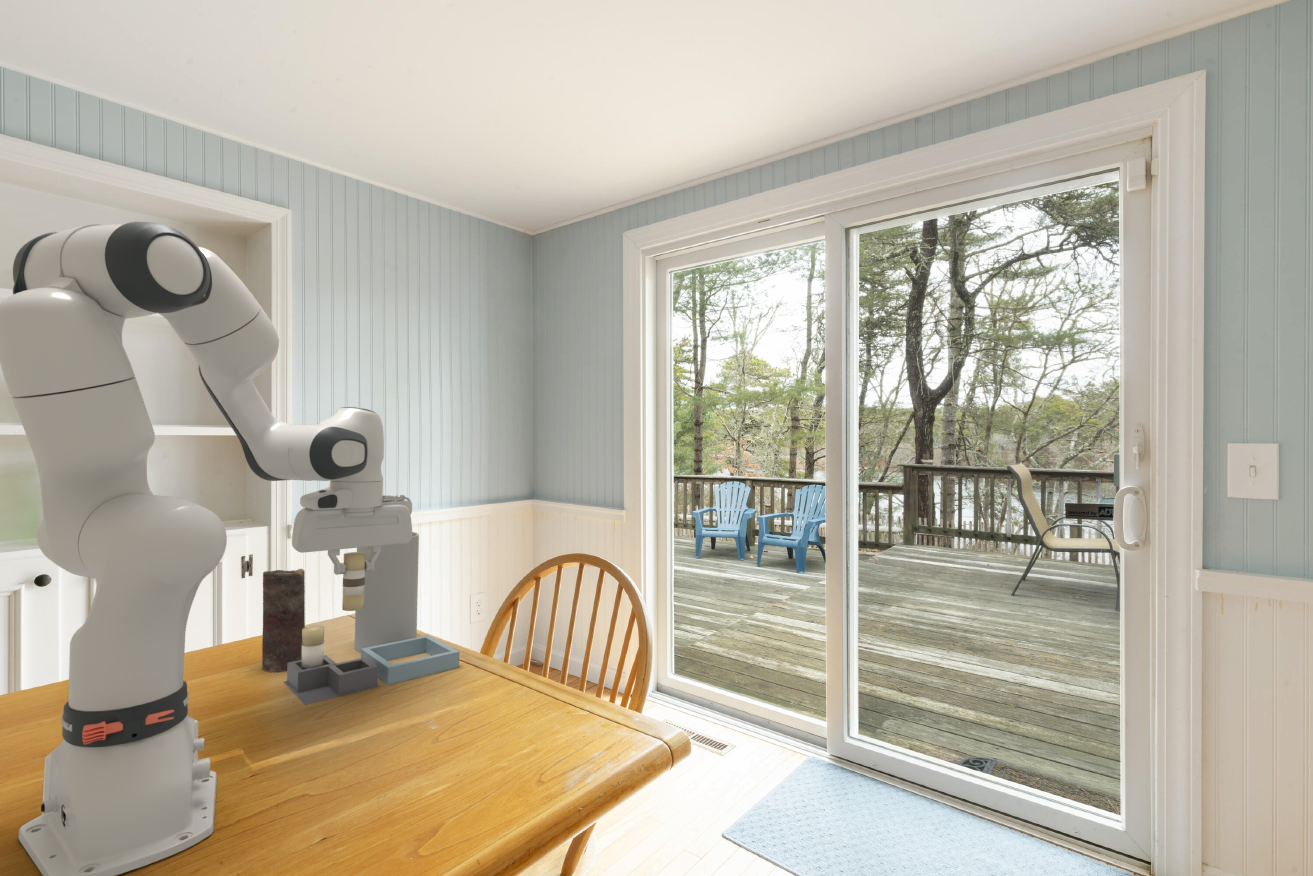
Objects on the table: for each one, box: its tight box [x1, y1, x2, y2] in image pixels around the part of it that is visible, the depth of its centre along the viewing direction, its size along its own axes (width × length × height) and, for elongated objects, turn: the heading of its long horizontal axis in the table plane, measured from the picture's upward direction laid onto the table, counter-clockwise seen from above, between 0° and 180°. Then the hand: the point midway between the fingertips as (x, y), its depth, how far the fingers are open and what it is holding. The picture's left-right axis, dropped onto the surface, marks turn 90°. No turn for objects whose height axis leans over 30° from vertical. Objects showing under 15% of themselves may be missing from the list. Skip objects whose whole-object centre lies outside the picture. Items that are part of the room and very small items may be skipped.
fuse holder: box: [283, 654, 381, 706], centre depth 118 cm, size 14×13×4 cm
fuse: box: [301, 624, 325, 670], centre depth 118 cm, size 4×4×10 cm
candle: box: [261, 568, 306, 673], centre depth 126 cm, size 8×7×20 cm
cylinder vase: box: [354, 531, 420, 654], centre depth 140 cm, size 12×12×25 cm
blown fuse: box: [341, 551, 366, 612], centre depth 117 cm, size 4×4×10 cm
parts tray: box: [360, 634, 460, 686], centre depth 128 cm, size 14×14×4 cm
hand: (354, 572), depth 117 cm, fingers closed on blown fuse, 4 cm apart
